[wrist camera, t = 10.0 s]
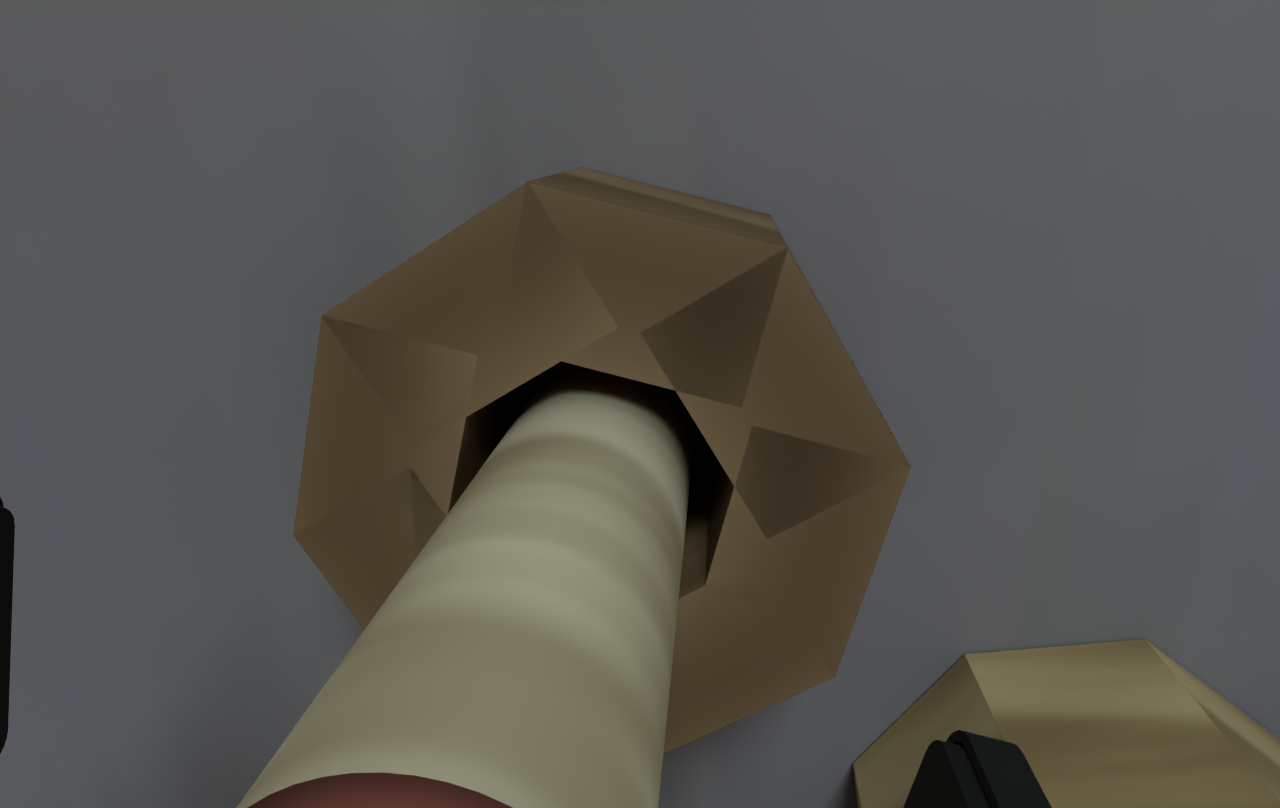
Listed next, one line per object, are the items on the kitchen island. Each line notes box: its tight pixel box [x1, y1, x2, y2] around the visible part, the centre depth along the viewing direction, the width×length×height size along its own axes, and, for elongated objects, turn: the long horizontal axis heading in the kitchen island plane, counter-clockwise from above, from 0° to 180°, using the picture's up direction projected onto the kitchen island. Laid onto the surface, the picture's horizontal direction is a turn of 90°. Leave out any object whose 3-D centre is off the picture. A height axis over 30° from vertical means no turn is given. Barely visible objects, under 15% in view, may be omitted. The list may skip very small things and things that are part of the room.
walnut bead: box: [293, 167, 911, 754], centre depth 16 cm, size 9×9×5 cm
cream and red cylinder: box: [236, 361, 696, 808], centre depth 12 cm, size 3×3×14 cm
